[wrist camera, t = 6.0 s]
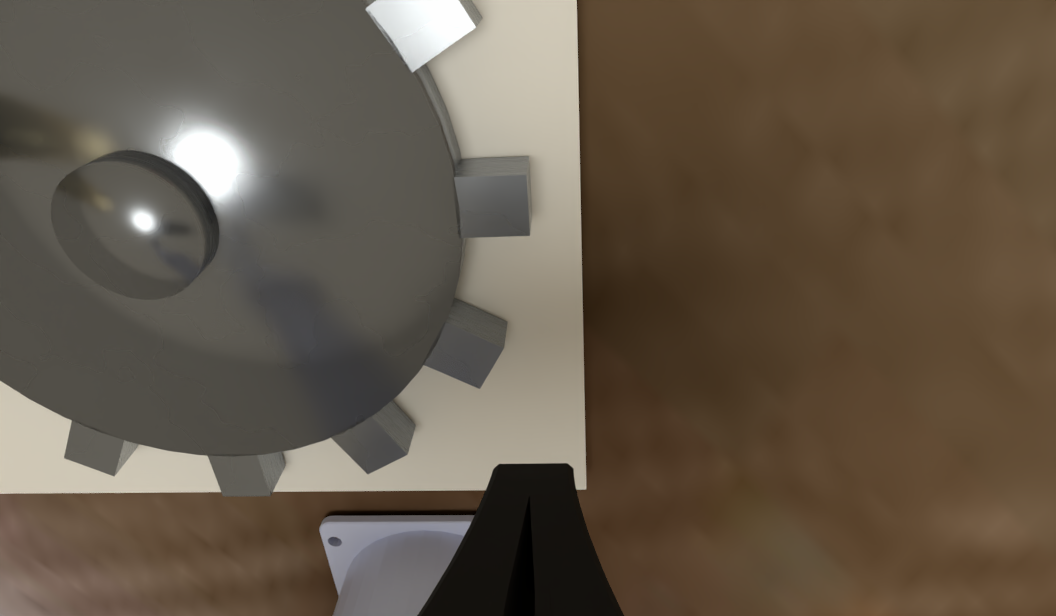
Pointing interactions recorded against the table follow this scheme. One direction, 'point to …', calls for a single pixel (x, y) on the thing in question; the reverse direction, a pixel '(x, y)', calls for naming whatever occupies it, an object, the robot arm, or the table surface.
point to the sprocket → (238, 225)
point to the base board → (485, 282)
